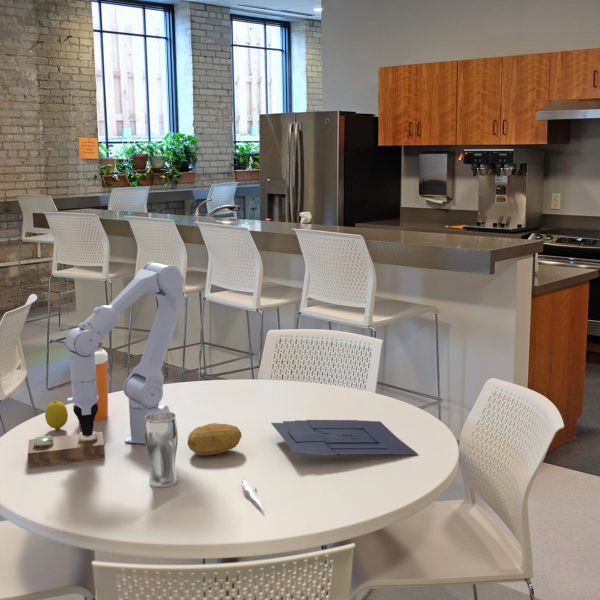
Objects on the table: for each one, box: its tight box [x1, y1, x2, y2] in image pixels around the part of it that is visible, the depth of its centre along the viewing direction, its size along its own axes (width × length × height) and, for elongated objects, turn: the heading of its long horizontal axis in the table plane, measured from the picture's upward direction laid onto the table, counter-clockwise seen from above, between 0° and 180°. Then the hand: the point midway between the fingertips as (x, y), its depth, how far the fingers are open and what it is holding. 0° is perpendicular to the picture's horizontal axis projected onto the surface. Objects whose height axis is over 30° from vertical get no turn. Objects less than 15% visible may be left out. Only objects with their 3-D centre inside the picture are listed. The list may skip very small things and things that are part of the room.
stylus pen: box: [241, 478, 264, 512], centre depth 167 cm, size 15×3×2 cm, turn 19°
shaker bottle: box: [94, 341, 109, 422], centre depth 217 cm, size 9×9×20 cm
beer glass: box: [145, 411, 179, 488], centre depth 175 cm, size 7×7×15 cm
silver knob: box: [78, 430, 98, 443], centre depth 193 cm, size 4×4×4 cm
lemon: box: [44, 399, 69, 431], centre depth 209 cm, size 6×6×8 cm
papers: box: [270, 419, 418, 456], centre depth 196 cm, size 24×30×4 cm
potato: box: [187, 422, 242, 456], centre depth 192 cm, size 9×13×7 cm
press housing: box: [27, 431, 106, 469], centre depth 191 cm, size 17×9×4 cm, turn 106°
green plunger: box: [33, 435, 54, 448], centre depth 190 cm, size 4×4×4 cm
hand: (87, 434), depth 192 cm, fingers closed, pressing on silver knob
